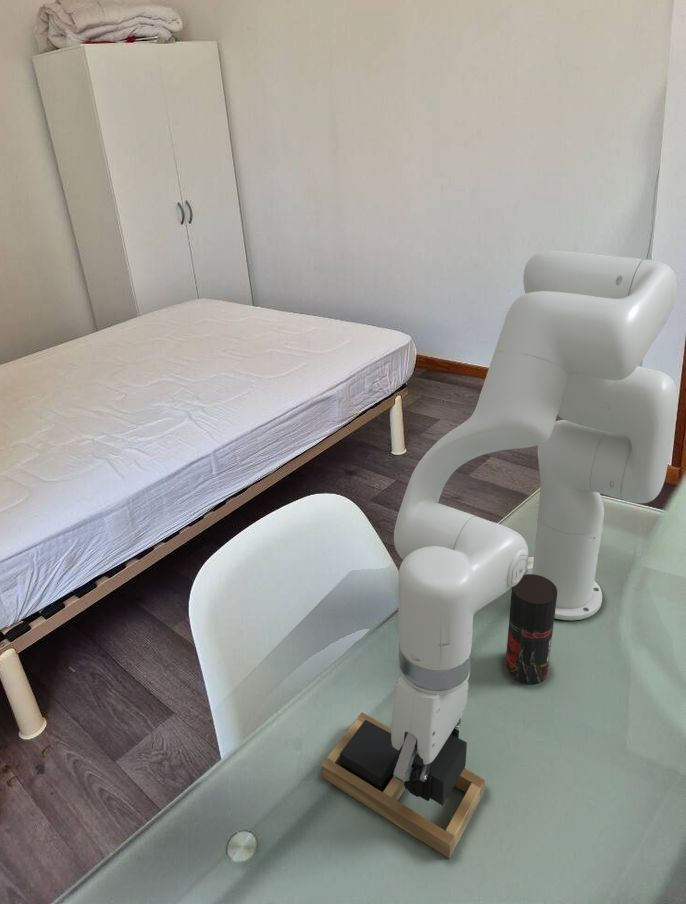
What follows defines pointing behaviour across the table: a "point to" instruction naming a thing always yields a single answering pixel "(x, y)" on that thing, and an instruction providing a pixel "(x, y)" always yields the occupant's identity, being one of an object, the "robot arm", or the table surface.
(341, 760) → the pad seated
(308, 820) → the table surface
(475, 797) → the frame
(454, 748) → the pad loose
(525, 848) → the table surface
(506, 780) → the table surface
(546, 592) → the deodorant
